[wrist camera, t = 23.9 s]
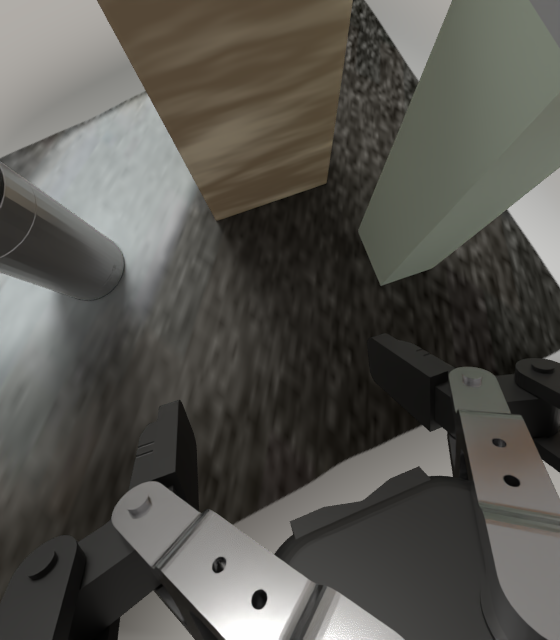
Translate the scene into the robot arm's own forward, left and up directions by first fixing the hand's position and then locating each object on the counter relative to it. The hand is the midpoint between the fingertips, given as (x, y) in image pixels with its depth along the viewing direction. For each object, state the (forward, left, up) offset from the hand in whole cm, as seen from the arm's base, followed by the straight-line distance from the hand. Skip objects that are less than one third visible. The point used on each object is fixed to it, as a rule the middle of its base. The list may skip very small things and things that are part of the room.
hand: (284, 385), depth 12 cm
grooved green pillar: (+3, +21, -26) cm, 33 cm away
